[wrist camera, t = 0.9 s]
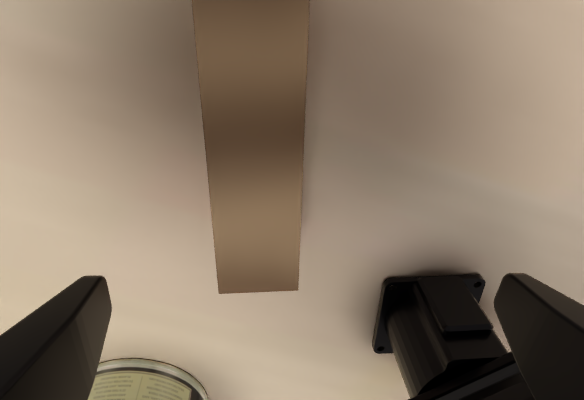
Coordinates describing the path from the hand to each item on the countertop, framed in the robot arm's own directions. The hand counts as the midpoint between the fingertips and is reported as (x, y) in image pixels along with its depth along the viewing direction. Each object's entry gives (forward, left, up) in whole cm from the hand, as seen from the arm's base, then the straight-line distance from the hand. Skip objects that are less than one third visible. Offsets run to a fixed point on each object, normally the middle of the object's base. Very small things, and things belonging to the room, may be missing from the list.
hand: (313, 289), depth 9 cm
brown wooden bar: (+1, +1, -12) cm, 12 cm away
